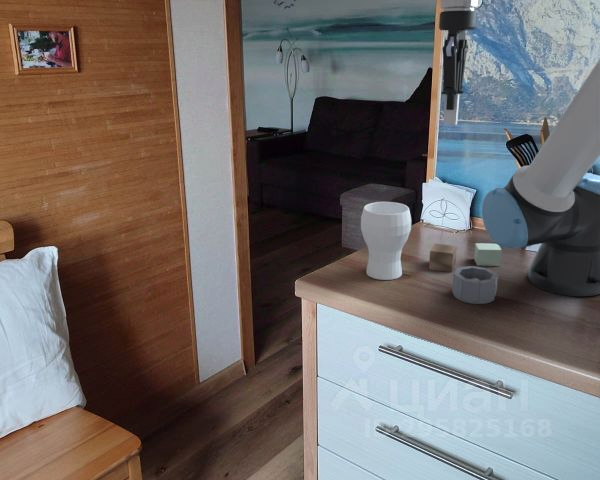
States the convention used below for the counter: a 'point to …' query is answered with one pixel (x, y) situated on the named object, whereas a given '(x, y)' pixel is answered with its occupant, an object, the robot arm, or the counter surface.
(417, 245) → the counter surface
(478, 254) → the sage block
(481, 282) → the ramekin
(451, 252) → the walnut box
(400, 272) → the cup
